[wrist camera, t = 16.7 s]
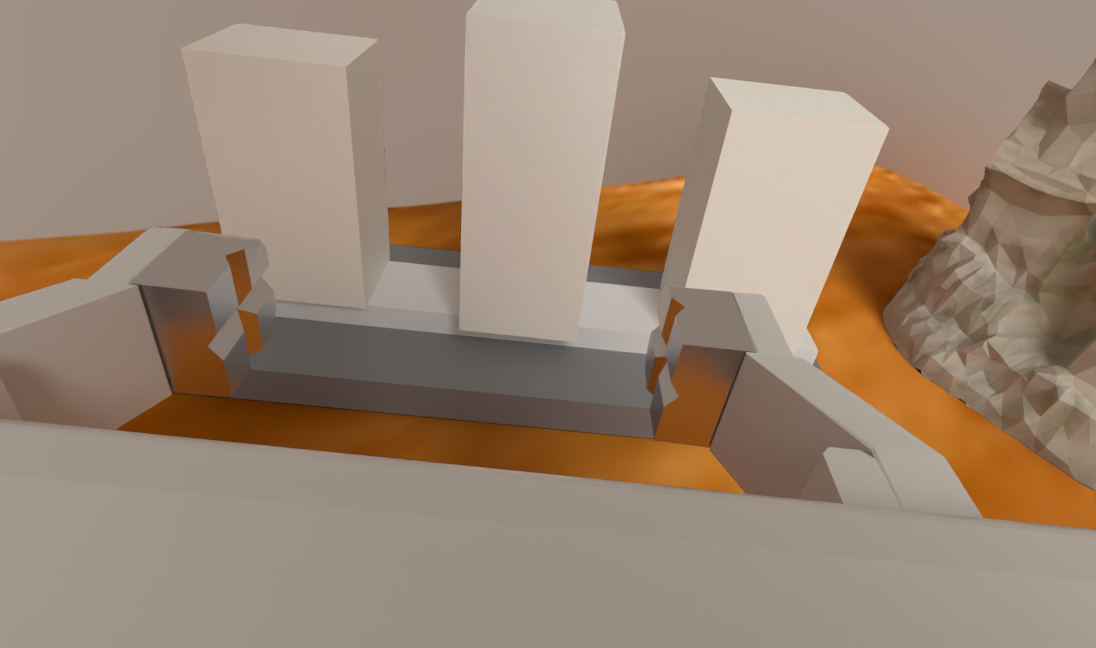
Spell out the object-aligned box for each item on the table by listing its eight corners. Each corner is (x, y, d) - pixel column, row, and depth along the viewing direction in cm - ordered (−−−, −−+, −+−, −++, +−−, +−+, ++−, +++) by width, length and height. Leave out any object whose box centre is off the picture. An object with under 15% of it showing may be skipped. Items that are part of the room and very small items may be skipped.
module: (458, 330, 24) (466, 13, 18) (478, 257, 29) (489, -15, 22) (576, 342, 24) (625, 32, 18) (577, 268, 29) (616, 0, 22)
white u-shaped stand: (172, 391, 23) (65, 66, 17) (276, 258, 32) (232, 4, 25) (835, 456, 24) (986, 169, 17) (769, 309, 32) (855, 75, 26)
